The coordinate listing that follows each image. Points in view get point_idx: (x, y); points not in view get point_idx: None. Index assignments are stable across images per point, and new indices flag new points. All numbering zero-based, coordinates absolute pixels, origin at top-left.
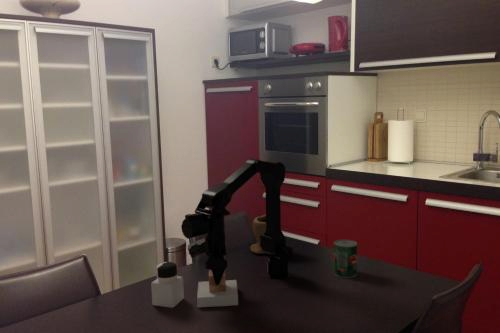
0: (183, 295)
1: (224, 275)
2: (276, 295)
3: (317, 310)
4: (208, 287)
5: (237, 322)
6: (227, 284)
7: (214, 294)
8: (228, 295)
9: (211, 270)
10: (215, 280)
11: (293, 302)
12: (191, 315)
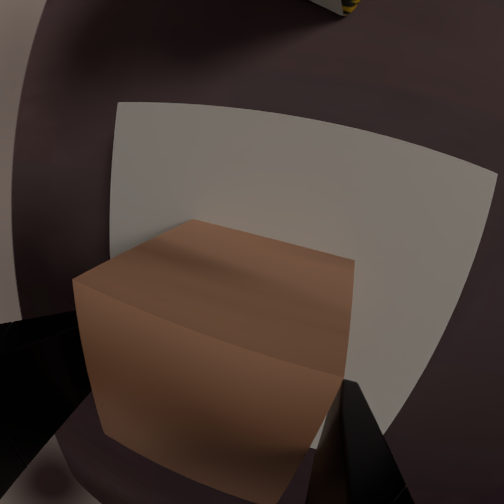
0: (333, 3)
1: (104, 429)
2: None
3: (117, 470)
4: (307, 237)
5: (35, 274)
6: None
7: None
8: None
9: (313, 408)
10: (75, 320)
11: (161, 474)
12: (92, 78)
